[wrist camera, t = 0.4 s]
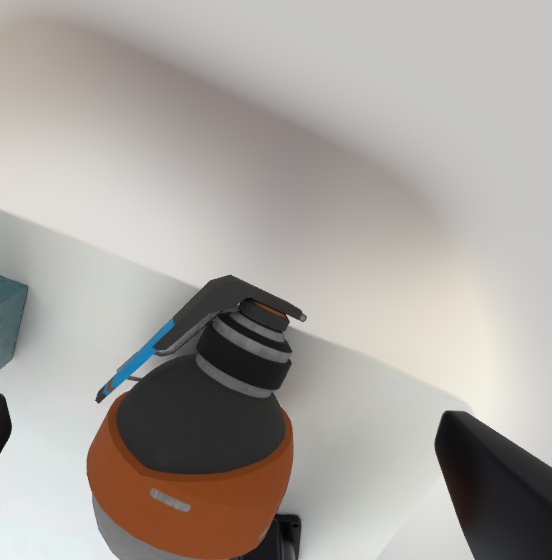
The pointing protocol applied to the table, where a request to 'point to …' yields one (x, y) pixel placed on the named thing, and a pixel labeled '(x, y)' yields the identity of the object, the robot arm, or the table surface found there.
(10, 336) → the teal block with ring
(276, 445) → the grenade
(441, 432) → the robot arm
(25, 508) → the table surface
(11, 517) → the table surface
